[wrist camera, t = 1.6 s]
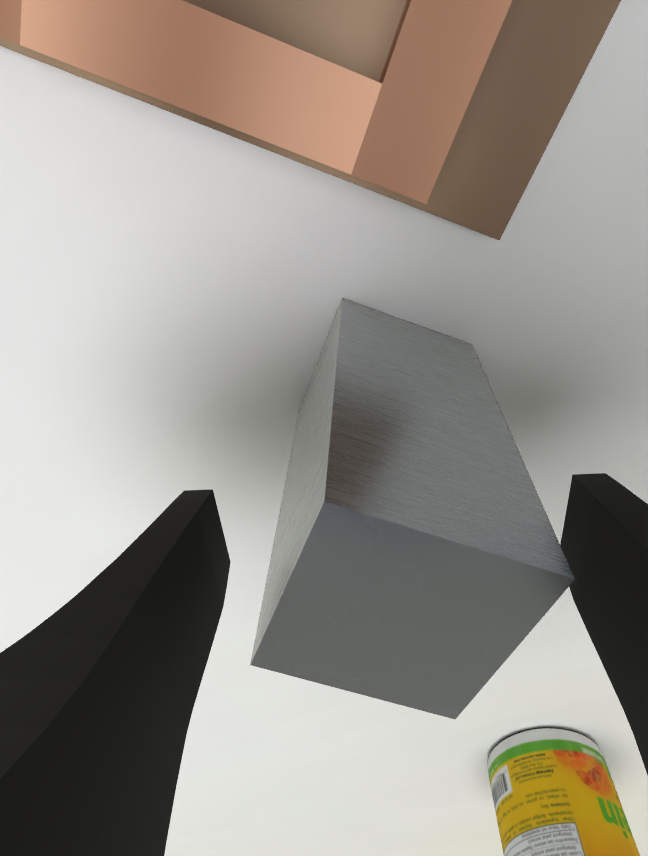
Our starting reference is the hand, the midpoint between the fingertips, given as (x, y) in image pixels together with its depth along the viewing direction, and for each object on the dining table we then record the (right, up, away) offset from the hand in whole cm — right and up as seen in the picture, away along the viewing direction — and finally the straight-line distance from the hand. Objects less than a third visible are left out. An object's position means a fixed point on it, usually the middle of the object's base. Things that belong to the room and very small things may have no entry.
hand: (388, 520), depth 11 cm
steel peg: (0, +3, +5) cm, 6 cm away
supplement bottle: (+9, -14, +16) cm, 23 cm away
